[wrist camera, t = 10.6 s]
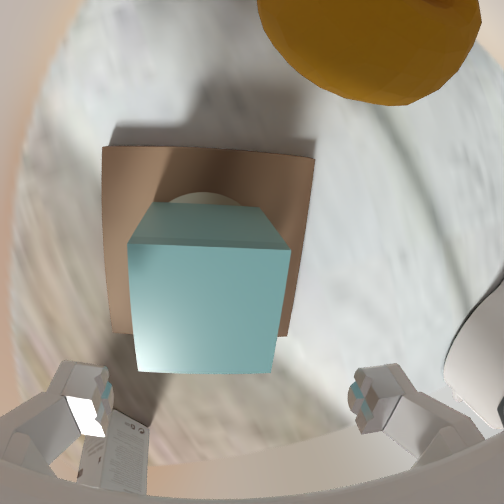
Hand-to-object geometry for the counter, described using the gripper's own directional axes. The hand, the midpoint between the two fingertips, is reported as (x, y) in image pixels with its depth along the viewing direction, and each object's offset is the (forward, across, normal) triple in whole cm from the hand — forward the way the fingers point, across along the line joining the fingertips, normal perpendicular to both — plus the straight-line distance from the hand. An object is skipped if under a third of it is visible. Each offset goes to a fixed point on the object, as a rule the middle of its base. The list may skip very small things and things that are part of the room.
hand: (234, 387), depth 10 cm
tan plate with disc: (+12, +1, 0) cm, 12 cm away
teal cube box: (+10, +1, 0) cm, 10 cm away
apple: (+12, -5, -14) cm, 19 cm away
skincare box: (+11, +10, +19) cm, 24 cm away
